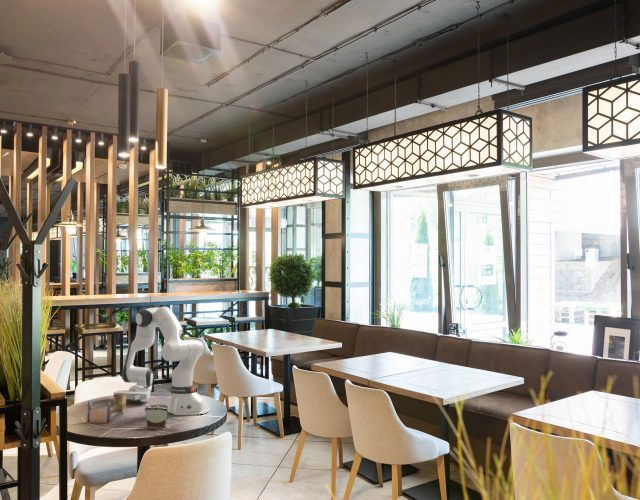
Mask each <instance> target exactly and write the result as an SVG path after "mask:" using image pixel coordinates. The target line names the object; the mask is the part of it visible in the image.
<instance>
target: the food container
mask: <svg viewBox="0 0 640 500" xmlns="http://www.w3.org/2000/svg"><path fill="white" fill-rule="evenodd" d="M144 411H145V422H146V424H145V425H146V428H157V429H165V428H166V427H167V419H168V413H169V406H168V405H166V404H159V403H158V404H149V405H146V406H145V407H144Z"/></svg>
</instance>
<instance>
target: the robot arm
mask: <svg viewBox="0 0 640 500" xmlns="http://www.w3.org/2000/svg"><path fill="white" fill-rule="evenodd" d="M134 321H135V323H136V324H137V325H136V330H135V331H136V333H135V337H134V339H133V340H132V341H131V342H130V343H129V346H128V350H127V353H126V357H125V360H124V366H123V369H122V371H121V375H120V376H121V378H122V380H123V382H124V383H129V384H131V383H133V386H131V387H129V389H128V390H125V389H124V390H115V391H114V392H113V397H112V398H113V399H114V394H116V393H126V400H131V401H134V402H137V401H141V400H143V401H144V400H145V401H146V400H150V398H151V392H152V390H153V389H152V388H153V383H154V379H155V378H154V377H155V374H154V371H153V370H152V369H151V368H150V367H142V366H135V365H134V362H135V361H134V360H135V357H136V353H137V352H139V351H143V350H145V349H148V348H150V347H152V346H153V345H154V343H155V340H156V328H157V327H158V328H159V331H160V332H161V335H162V336H163V338H164V344H163V345H162V347H161V357H162V358H163V359H164V360H165V361H167V362H179V363H178V364H177V366H176V367H175V368H174V369H173V370H172V373H171V386H170V403H169V406H168V408H169V412H168V413H170V414H173V415H174V416H194V415H195V416H200V414H203V415H206V414H208V413H209V412H210V411H211V407H208V406H207V402H206V399H205V398H204V397H203V396H202V395H200V394H199V393H198V392H197V390H196V389H197V385H194V384H193V378H194V369H195V366H196V364H197V362H198V360H199V359H200V357H202V355H203V354H204V351H205V350H204V348H205V347H204V344H203V342H202V341H201V340H199V339H193V338H191V339H182V338H181V336H182V335H183V330H184V329H183V326H182V325H181V323H180V321H179V319H178V318H177V316H176V315H175V314H174V312H173V311H172V309H171V308H170V307H168V306H161V307H148V308H145V309H144V308H142V309H140V310H138V311H137V312H136V313H135V318H134ZM134 383H135V385H134ZM207 412H208V413H207ZM205 413H206V414H205ZM197 414H198V415H197Z"/></svg>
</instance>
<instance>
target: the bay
mask: <svg viewBox="0 0 640 500" xmlns="http://www.w3.org/2000/svg"><path fill="white" fill-rule="evenodd" d="M111 404H112V403H111V402H110V401H109V402H107V403H106V409H92V401H88V402H87V420H86V423H101V424H102V423H103V424H107V423H108V424H110V423H112V422H113V421H114V420H117V419H118V418H119V417H122V416H123V415H124V412H125V410H124V411H121V412H117V413H116V414H114V415H113V416H111Z"/></svg>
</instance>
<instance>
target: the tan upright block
mask: <svg viewBox="0 0 640 500" xmlns="http://www.w3.org/2000/svg"><path fill="white" fill-rule="evenodd" d="M113 394H114V393H113ZM112 406H113V410H112V411H113V412H117V413H119V412H121V411H124V412H125V410H127V399H126V393H116V394H114V398H113V405H112Z"/></svg>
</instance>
